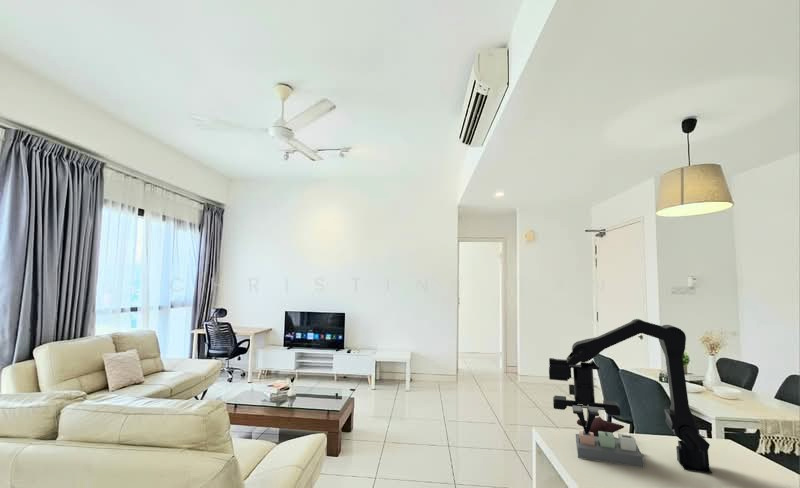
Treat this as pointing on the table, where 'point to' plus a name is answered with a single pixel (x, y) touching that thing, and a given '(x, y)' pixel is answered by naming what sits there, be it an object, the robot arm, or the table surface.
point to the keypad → (609, 453)
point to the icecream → (602, 426)
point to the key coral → (587, 438)
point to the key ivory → (627, 442)
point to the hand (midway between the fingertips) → (586, 433)
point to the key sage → (606, 439)
